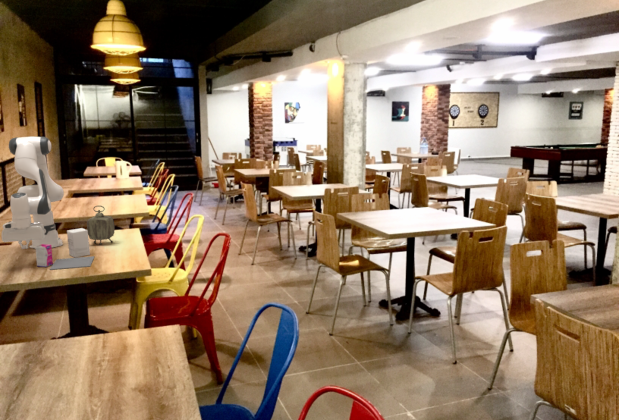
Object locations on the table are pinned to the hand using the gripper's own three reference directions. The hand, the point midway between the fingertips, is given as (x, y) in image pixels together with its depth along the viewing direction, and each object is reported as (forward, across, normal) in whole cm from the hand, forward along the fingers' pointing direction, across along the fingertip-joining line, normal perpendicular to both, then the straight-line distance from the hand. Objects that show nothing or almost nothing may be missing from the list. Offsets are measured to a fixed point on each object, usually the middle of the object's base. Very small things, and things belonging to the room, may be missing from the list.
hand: (24, 248), depth 277 cm
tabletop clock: (+10, -34, -41) cm, 55 cm away
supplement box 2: (+10, -24, -18) cm, 32 cm away
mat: (+10, -23, 0) cm, 25 cm away
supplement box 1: (+11, -9, 0) cm, 14 cm away
